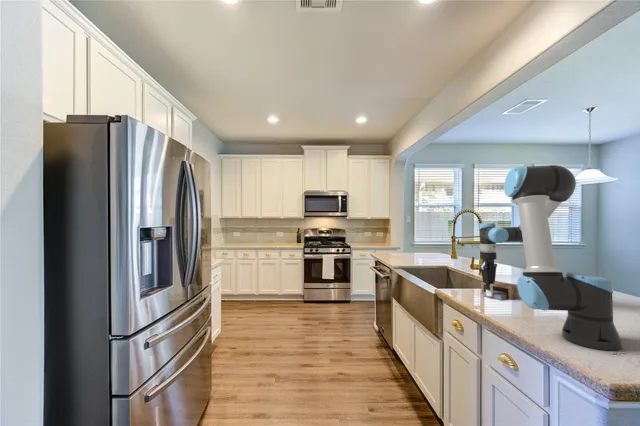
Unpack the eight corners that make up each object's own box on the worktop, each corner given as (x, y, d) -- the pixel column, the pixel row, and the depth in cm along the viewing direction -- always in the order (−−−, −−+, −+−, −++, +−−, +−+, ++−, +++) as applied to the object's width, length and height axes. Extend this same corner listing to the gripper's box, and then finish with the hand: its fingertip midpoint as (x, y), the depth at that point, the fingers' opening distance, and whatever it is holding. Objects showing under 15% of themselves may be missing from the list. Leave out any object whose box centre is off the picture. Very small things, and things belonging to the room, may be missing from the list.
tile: (500, 301, 148) (500, 295, 148) (483, 297, 156) (483, 292, 156) (512, 297, 154) (512, 292, 154) (495, 294, 162) (495, 288, 162)
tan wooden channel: (511, 299, 149) (510, 287, 149) (481, 293, 162) (481, 281, 162) (518, 297, 153) (518, 284, 153) (489, 291, 166) (489, 279, 166)
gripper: (488, 253, 146) (489, 299, 146) (501, 251, 153) (503, 295, 152) (474, 251, 152) (475, 296, 152) (487, 250, 159) (488, 292, 159)
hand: (489, 295), depth 152 cm, fingers closed
